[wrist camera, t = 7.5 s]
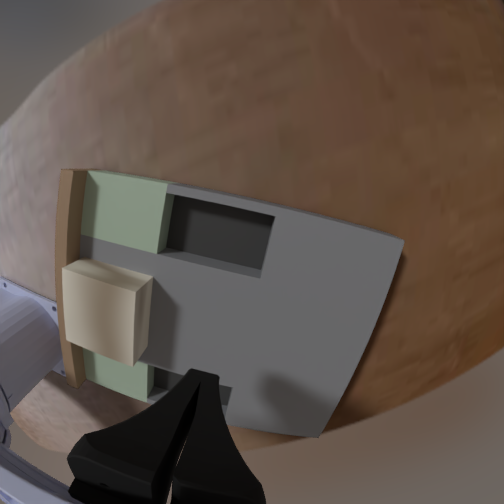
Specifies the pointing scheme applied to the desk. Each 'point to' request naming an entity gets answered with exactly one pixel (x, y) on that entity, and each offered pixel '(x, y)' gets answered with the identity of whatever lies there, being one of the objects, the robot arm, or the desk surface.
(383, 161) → the desk surface
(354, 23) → the desk surface
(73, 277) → the cream block
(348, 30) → the desk surface
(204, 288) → the board
